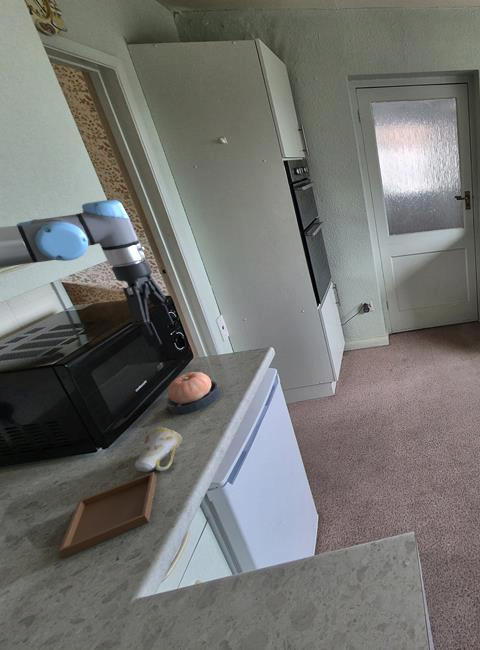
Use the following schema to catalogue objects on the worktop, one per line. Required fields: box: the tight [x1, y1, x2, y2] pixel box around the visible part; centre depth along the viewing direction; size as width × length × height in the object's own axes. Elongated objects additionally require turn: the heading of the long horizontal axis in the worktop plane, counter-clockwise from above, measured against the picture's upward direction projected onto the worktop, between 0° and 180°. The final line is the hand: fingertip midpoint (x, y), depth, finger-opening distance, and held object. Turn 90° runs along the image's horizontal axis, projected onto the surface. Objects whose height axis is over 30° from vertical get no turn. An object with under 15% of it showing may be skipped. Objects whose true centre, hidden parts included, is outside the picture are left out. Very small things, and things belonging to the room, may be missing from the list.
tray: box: [57, 471, 158, 559], centre depth 78 cm, size 13×13×2 cm
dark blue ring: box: [165, 380, 221, 415], centre depth 114 cm, size 13×13×2 cm
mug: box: [134, 427, 183, 473], centre depth 92 cm, size 8×10×10 cm
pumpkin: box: [167, 371, 212, 404], centre depth 112 cm, size 11×11×8 cm
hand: (162, 335), depth 107 cm, fingers open, 13 cm apart
